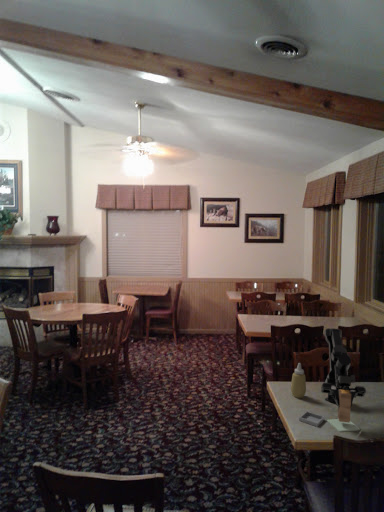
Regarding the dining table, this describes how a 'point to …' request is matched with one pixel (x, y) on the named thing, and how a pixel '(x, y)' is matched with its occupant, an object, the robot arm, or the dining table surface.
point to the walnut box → (344, 406)
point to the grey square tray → (311, 418)
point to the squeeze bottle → (298, 383)
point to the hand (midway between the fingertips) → (344, 408)
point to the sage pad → (343, 425)
